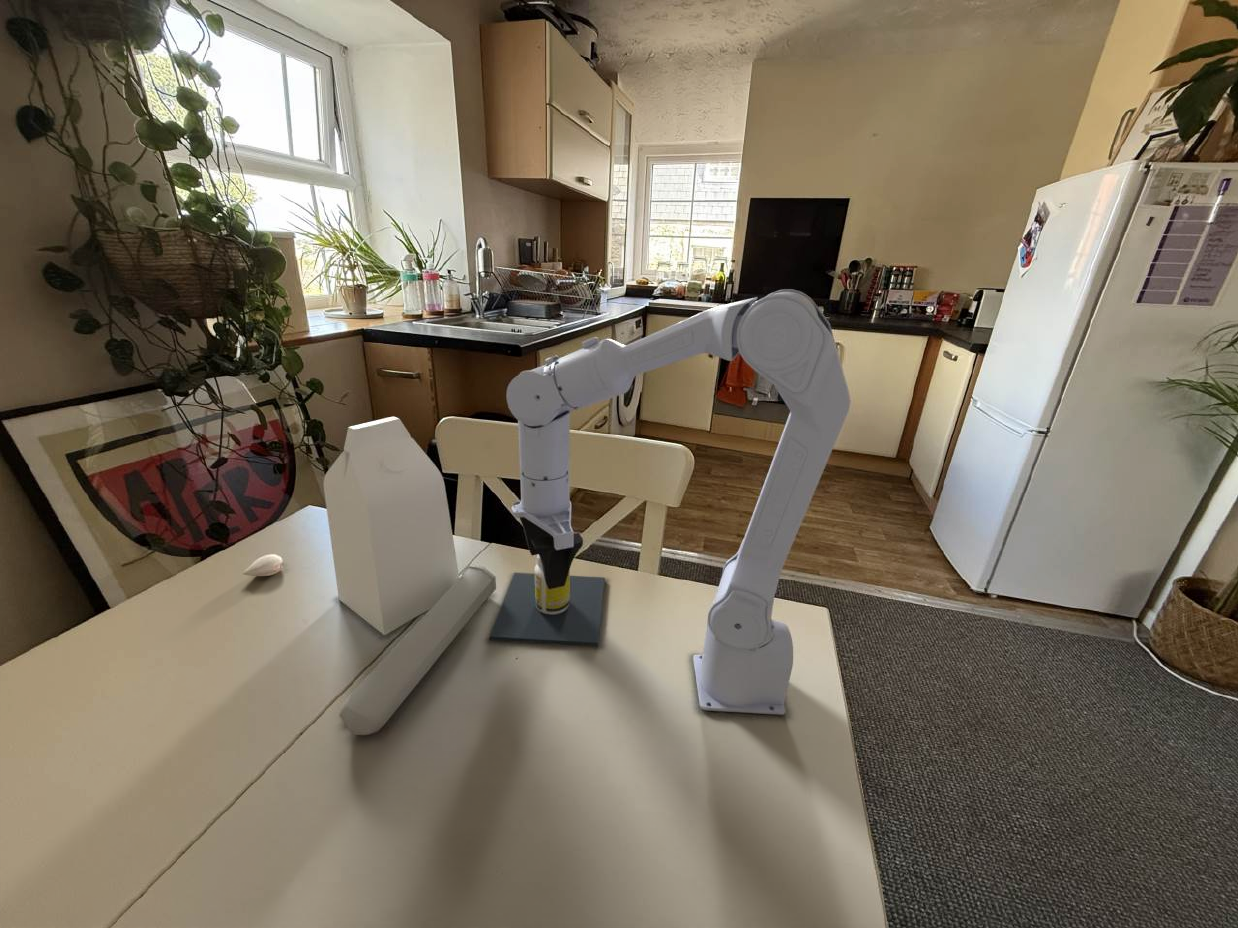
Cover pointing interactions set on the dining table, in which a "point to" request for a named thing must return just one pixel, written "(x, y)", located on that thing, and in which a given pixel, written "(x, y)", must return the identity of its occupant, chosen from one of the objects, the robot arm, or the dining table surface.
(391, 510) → the milk
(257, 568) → the white garlic clove
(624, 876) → the dining table surface
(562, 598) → the supplement bottle
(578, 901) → the dining table surface
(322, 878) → the dining table surface
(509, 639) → the mat
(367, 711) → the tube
